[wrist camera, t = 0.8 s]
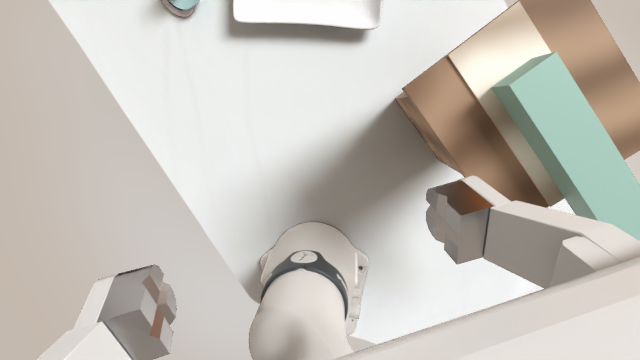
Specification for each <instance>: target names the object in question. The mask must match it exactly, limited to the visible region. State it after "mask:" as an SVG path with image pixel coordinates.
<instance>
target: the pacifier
mask: <svg viewBox="0 0 640 360" xmlns="http://www.w3.org/2000/svg"><path fill="white" fill-rule="evenodd" d="M169 1H170V2H171V3H172V4H173V5H174V6H176V7H177V8H180V9H183V10H179V9H176V8H175V7H174V6H173V5H172V4H171V3H170V2H169ZM169 1H168V0H162V2H163V3H164V5H165V6H166V7H167V8H168V9H169V10H170V11H171V12H172V13H174V14H176V15H178V16H181V17H186V16H189V15H191V14H192V12H193V10H194V6H195V5H196V4H197V3H198V1H199V0H169Z"/></svg>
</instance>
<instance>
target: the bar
mask: <svg viewBox="0 0 640 360" xmlns="http://www.w3.org/2000/svg"><path fill="white" fill-rule="evenodd" d="M491 88H492V89H493V91H494V92H495V94H496V95H497V97H498V98H499V100H500V101H501V103H502V104H503V106H504V107H505V109H506V110H507V112H508V113H509V115H510V116H511V118H512V119H513V121H514V122H515V124H516V125H517V127H518V128H519V130H520V131H521V133H522V134H523V136H524V137H525V139H526V140H527V142H528V143H529V145H530V146H531V148H532V149H533V151H534V152H535V154H536V155H537V157H538V158H539V160H540V161H541V163H542V164H543V166H544V167H545V169H546V171H547V172H548V174H549V175H550V177H551V178H552V180H553V181H554V183H555V184H556V186H557V187H558V189H559V190H560V192H561V193H562V195H563V196H564V198H565V199H566V201H567V202H568V204H569V205H570V207H571V208H572V210H573V211H574V213H575V214H576V215H577V216H581V217H585V218H589V219H593V220H597V221H601V222H605V223H609V224H612V225H614V226H616V227H617V228H619V229H621V230H622V231H624V232H626V233H627V234H629V235H630V236H632V237H634V238H635V239H637V240H639V241H640V184H639V183H638V181H637V180H636V178H635V176H634V175H633V173H632V172H631V170H630V168H629V167H628V165H627V164H626V162H625V160H624V159H623V157H622V156H621V154H620V152H619V151H618V149H617V148H616V146H615V144H614V143H613V141H612V140H611V138H610V136H609V135H608V133H607V132H606V130H605V128H604V127H603V125H602V124H601V122H600V120H599V119H598V117H597V116H596V114H595V113H594V111H593V109H592V108H591V106H590V105H589V103H588V101H587V100H586V98H585V97H584V95H583V93H582V92H581V90H580V89H579V87H578V85H577V84H576V82H575V81H574V79H573V77H572V76H571V74H570V73H569V71H568V69H567V68H566V66H565V65H564V63H563V61H562V60H561V58H560V57H559V55H558V53H557V52H553V53H549V54H545V55H541V56H538V57H534V58H531V59H530V60H529V61H527V62H526V63H524V64H523V65H522V66H520V67H519V68H517V69H516V70H515V71H513V72H512V73H510V74H509V75H508V76H506V77H505V78H503V79H502V80H501V81H499V82H498V83H496V84H495V85H494V86H492V87H491Z"/></svg>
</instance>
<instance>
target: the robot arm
mask: <svg viewBox="0 0 640 360" xmlns="http://www.w3.org/2000/svg"><path fill="white" fill-rule="evenodd" d="M426 201H427V202H428V203H429V204H430V206H429V208H428V210H427V211H426V221H427V225H428V228H429V230H430V232H431V234H432V235H433V237H434V238H435V239H436V240H438V241H440V242H443V243H445V245H444V250H445V251H446V252H447V253H448V255H449V256H450V257H451V258H452V259H453V260H454V262H455V263H456V264H460V263H464V262H468V261H471V260H475V259H478V258H482V257H484V259H486V260H488V261H490V262H492V263H494V264H496V265H498V266H500V267H502V268H504V269H506V270H508V271H510V272H512V273H514V274H516V275H518V276H520V277H522V278H524V279H526V280H528V281H530V282H532V283H534V284H536V285H538V286H540V287H542V288H544V289H543V290H540V291H537V292H534V293H531V294H528V295H525V296H522V297H519V298H516V299H513V300H510V301H507V302H504V303H501V304H498V305H495V306H492V307H489V308H486V309H483V310H480V311H477V312H474V313H471V314H468V315H465V316H462V317H459V318H456V319H453V320H450V321H447V322H444V323H441V324H438V325H435V326H432V327H429V328H426V329H423V330H420V331H417V332H414V333H411V334H408V335H405V336H402V337H399V338H396V339H393V340H390V341H387V342H384V343H381V344H378V345H375V346H372V347H369V348H366V349H363V350H360V351H357V352H354V351H353V350H352V349H351V347H350V346H349V344H348V342H347V339H346V336H349V335H350V334H352V333H354V331H355V328H356V324H357V319H359V315H360V304H361V299H362V294H363V289H364V283H365V278H366V273H367V268H368V263H369V259H368V257H367V256H366V255H365V254H364V253H362V252H361V251H359V250H357V249H356V248H354V247H353V246H352V244H351V243H350V242H349V240H348V239H347V238H346V237H345V236H344V235H343V234H342V233H341V232H340V231H339V230H337V229H336V228H334V227H332V226H330V225H327V224H324V223H318V222H307V223H301V224H298V225H296V226H293V227H292V228H290V229H288V230H287V231H286V232H285V233H284V234H283V235H282V236H281V237H280V238H279V240H278V241H277V243H276V245H275V246H274V247H273V249H271V250H270V251H268V252H267V253H265V254H264V255H263V256H262V257H261V260H260V266H261V269H262V276H261V280H260V282H261V283H262V284H263V291H262V296H261V304H260V306H259V308H258V311H257V313H256V315H255V318H254V320H253V322H252V325H251V328H250V332H249V349H250V353H251V356H252V359H253V360H640V241H639V240H637V239H635V238H634V237H632V236H630V235H629V234H627V233H626V232H624V231H622V230H621V229H619V228H617V227H616V226H614V225H612V224H609V223H605V222H601V221H597V220H593V219H589V218H585V217H581V216H577V215H573V214H569V213H565V212H561V211H557V210H553V209H549V208H545V207H541V206H537V205H533V204H529V203H525V202H521V201H517V200H516V201H512V202H511V201H510V200H508V199H507V198H506V197H504V196H503V195H502V194H500V193H499V192H498V191H496V190H495V189H494V188H492V187H491V186H489V185H488V184H487V183H485V182H484V181H483V180H481V179H480V178H479V177H477V176H469V177H466V178H463V179H460V180H458V181H455V182H451V183H447V184H444V185H440V186H437V187H433V188H430V189H428V190H427V193H426ZM359 266H362V267H363V268H362V269H359V268H358V267H359ZM163 275H164V274H163V272H162V271H161V269H160V267H159V266H157V265H151V266H147V267H143V268H139V269H135V270H131V271H127V272H123V273H119V274H117V275H112V276H108V277H105V278H101V279H98V280H97V281H96V282H95V283H94V285H93V287H92V289H91V291H90V293H89V296H88V298H87V300H86V302H85V304H84V307H83V309H82V311H81V313H80V315H79V318H78V320H77V322H76V324H75V326H74V329H73V330H71V331H68V332H66V333H65V334H64V335H63V336H61V337H60V338H59V339H58V340H57V341H56V342H55V343H54V344H53V345H52V346H51V347H50V348H48V349H47V350H46V351H45V352H44V353H43V354H42V355H41V356H40V357H39V358H38V359H37V360H153V359H156V358H159V357H162V356H164V355H168V354H170V349H171V343H172V337H173V331H172V329H171V327H170V324H171V323H172V322H173V320H174V319H175V318H176V310H177V308H176V298H175V295H174V292H173V290H172V288H171V286H170V285H169V284H166V283H164V282H162V280H163Z"/></svg>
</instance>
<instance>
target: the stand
mask: <svg viewBox="0 0 640 360" xmlns="http://www.w3.org/2000/svg"><path fill="white" fill-rule="evenodd" d="M553 52H557V53H558V55H559V57H560V58H561V60H562V61H563V63H564V65H565V66H566V68H567V69H568V71H569V73H570V74H571V76H572V77H573V79H574V81H575V82H576V84H577V85H578V87H579V89H580V90H581V92H582V93H583V95H584V97H585V98H586V100H587V101H588V103H589V105H590V106H591V108H592V109H593V111H594V113H595V114H596V116H597V117H598V119H599V120H600V122H601V124H602V125H603V127H604V128H605V130H606V132H607V133H608V135H609V136H610V138H611V140H612V141H613V143H614V144H615V146H616V148H617V149H618V151H619V152H620V154H621V156H622V157H623V159H624V160H625V159H626V158H628V157H630V156H631V155H633V154H635V153H636V152H638V151H639V150H640V82H639V81H638V79H637V77H636V76H635V74H634V72H633V71H632V69H631V67H630V66H629V64H628V63H627V61H626V59H625V57H624V56H623V54H622V52H621V51H620V49H619V47H618V45H617V44H616V42H615V40H614V39H613V37H612V35H611V34H610V32H609V31H608V29H607V27H606V25H605V24H604V22H603V20H602V19H601V17H600V15H599V14H598V12H597V10H596V9H595V7H594V5H593V4H592V2H591V0H518V1H517V2H516V3H514V4H513V5H512V6H510V7H509V8H508V9H507V10H505V11H504V12H503V13H501V14H500V15H499V16H497V17H496V18H495V19H493V20H492V21H491V22H489V23H488V24H487V25H485V26H484V27H483V28H481V29H480V30H479V31H477V32H476V33H475V34H474V35H472V36H471V37H470V38H468V39H467V40H466V41H464V42H463V43H462V44H460V45H459V46H458V47H456V48H455V49H454V50H452V51H451V52H450V53H448V54H447V55H446V56H444V57H443V58H442V59H441V60H439V61H438V62H437V63H435V64H434V65H433V66H431V67H430V68H429V69H427V70H426V71H425V72H423V73H422V74H421V75H419V76H418V77H417V78H415V79H414V80H413V81H411V82H410V83H409V84H408V85H406V86H405V87H404V88H402V90H403V91H404V92H403V93H402V94H400V95H399V96H398V97H396V98H395V99H396V100H397V102H398V103H399V105H400V106H401V107H402V109H403V110H404V112H405V113H406V114H407V116H408V117H409V119H410V120H411V122H412V123H413V124H414V126H415V127H416V129H417V130H418V131H419V133H420V134H421V136H422V137H423V138H424V140H425V141H426V143H427V144H428V145H429V147H430V148H431V150H432V151H433V152H434V154H435V155H436V157H437V158H438V159H439V160H440V161H441V162H443V163H444V164H446V165H448V166H449V167H451V168H453V169H454V170H456V171H458V172H459V173H461V174H462V175H463V176H464V177H465V178H466V177H469V176H477V177H479V178H480V179H481V180H483V181H484V182H485V183H487V184H488V185H489V186H491V187H492V188H494V189H495V190H496V191H498V192H499V193H500V194H502V195H503V196H504V197H506V198H507V199H508V200H510V201H511V202H512V201H516V200H517V201H521V202H525V203H529V204H533V205H537V206H541V207H545V208H547V207H548V206H550V207H551V206H552V205H554V204H556V203H557V202H559V201H561V200H562V199H564V196H563V195H562V193H561V192H560V190H559V189H558V187H557V186H556V184H555V183H554V181H553V180H552V178H551V177H550V175H549V174H548V172H547V171H546V169H545V167H544V166H543V164H542V163H541V161H540V160H539V158H538V157H537V155H536V154H535V152H534V151H533V149H532V148H531V146H530V145H529V143H528V142H527V140H526V139H525V137H524V136H523V134H522V133H521V131H520V130H519V128H518V127H517V125H516V124H515V122H514V121H513V119H512V118H511V116H510V115H509V113H508V112H507V110H506V109H505V107H504V106H503V104H502V103H501V101H500V100H499V98H498V97H497V95H496V94H495V92H494V91H493V89H492V88H491V87H492V86H494V85H495V84H496V83H498V82H499V81H501V80H502V79H503V78H505V77H506V76H508V75H509V74H510V73H512V72H513V71H515V70H516V69H517V68H519V67H520V66H522V65H523V64H524V63H526V62H527V61H529V60H530V59H531V58H534V57H538V56H541V55H545V54H549V53H553Z"/></svg>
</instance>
